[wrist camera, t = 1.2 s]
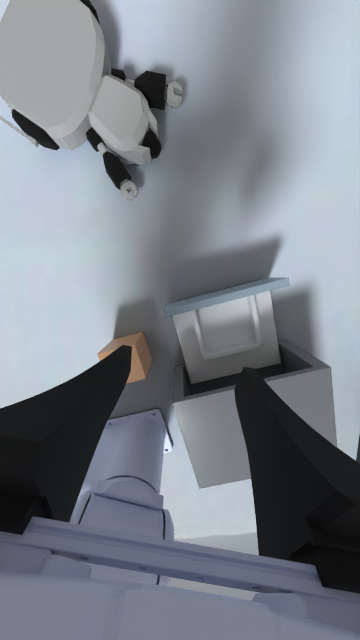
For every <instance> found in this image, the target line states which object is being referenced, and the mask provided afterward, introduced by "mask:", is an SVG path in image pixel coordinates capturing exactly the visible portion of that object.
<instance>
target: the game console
mask: <svg viewBox="0 0 360 640" xmlns="http://www.w3.org/2000/svg"><path fill="white" fill-rule="evenodd" d="M356 462H358V463H359V464H360V436H359V444H358V451H357V459H356Z"/></svg>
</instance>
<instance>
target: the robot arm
mask: <svg viewBox="0 0 360 640" xmlns="http://www.w3.org/2000/svg"><path fill="white" fill-rule="evenodd" d="M131 357H132V346H127V345H122V346H120V347H119V348H117V349H116V350H115V351H113V352H112V353H111V354H109V355H108V356H107V357H105V358H104V359H102V360H101V361H100V362H98V363H97V364H95V365H94V366H92V367H91V368H89V369H88V370H86V371H84V372H83V373H81V374H79V375H78V376H76V377H74V378H72V379H70V380H69V381H67V382H65V383H63V384H61V385H58V386H56V387H54V388H52V389H50V390H48V391H45V392H43V393H41V394H38V395H36V396H34V397H31V398H29V399H26V400H23V401H21V402H18V403H15V404H12V405H10V406H6V407H3V408H0V640H360V464H359V463H358V462H356V461H355V460H354V459H352V458H351V457H349V456H348V455H347V454H345V453H344V452H342V451H341V450H340V449H338V448H337V447H336V446H334V445H333V444H332V443H331V442H329V441H328V440H327V439H325V438H324V437H323V436H322V435H320V434H319V433H318V432H317V431H315V430H314V429H313V428H312V427H311V426H310V425H308V424H307V423H306V422H305V421H304V420H303V419H302V418H301V417H299V416H298V415H297V414H296V413H295V412H294V411H293V410H292V409H291V408H290V407H289V406H288V405H287V404H286V403H285V402H284V401H283V400H282V399H281V398H280V397H279V396H278V395H277V394H276V393H275V392H274V390H273V389H272V388H271V387H270V386H269V385H268V384H267V383H266V382H265V380H264V379H263V378H262V377H261V376H260V375H259V374H258V373H257V372H256V371H255V370H254V369H253V368H249V367H243V369H242V372H241V374H240V377H239V379H238V381H237V384H236V386H235V389H234V393H235V401H236V407H237V411H238V416H239V420H240V424H241V427H242V431H243V435H244V439H245V443H246V448H247V453H248V460H249V466H250V473H251V480H252V488H253V496H254V505H255V514H256V525H257V537H258V549H259V556H258V555H252V554H247V553H241V552H235V551H230V550H223V549H218V548H212V547H206V546H201V545H195V544H189V543H183V542H178V541H174V527H173V521H172V519H171V516H170V513H169V511H168V510H167V509H163V497H164V496H163V495H160V485H161V475H162V464H163V454H164V453H167V452H171V451H172V450H173V447H172V444H171V441H170V438H169V435H168V432H167V429H166V426H165V423H164V420H163V417H162V414H161V411H160V410H159V409H155V410H150V411H146V412H142V413H137V414H133V415H128V416H124V417H120V418H115V419H111V420H108V419H109V417H110V415H111V413H112V411H113V409H114V407H115V405H116V403H117V401H118V399H119V397H120V395H121V393H122V391H123V389H124V387H125V385H126V383H127V380H128V377H129V374H130V372H131ZM153 413H155V414H153ZM111 423H112V424H111ZM78 496H79V498H78ZM170 577H173V578H178V579H184V580H190V581H196V582H201V583H207V584H213V585H219V586H225V587H230V588H237V589H242V590H248V591H255V592H260V593H256V594H255V596H254V599H253V600H245V599H239V598H234V597H228V596H222V595H216V594H210V593H205V592H198V591H193V590H187V589H181V588H176V587H170V586H169V582H170Z"/></svg>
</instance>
